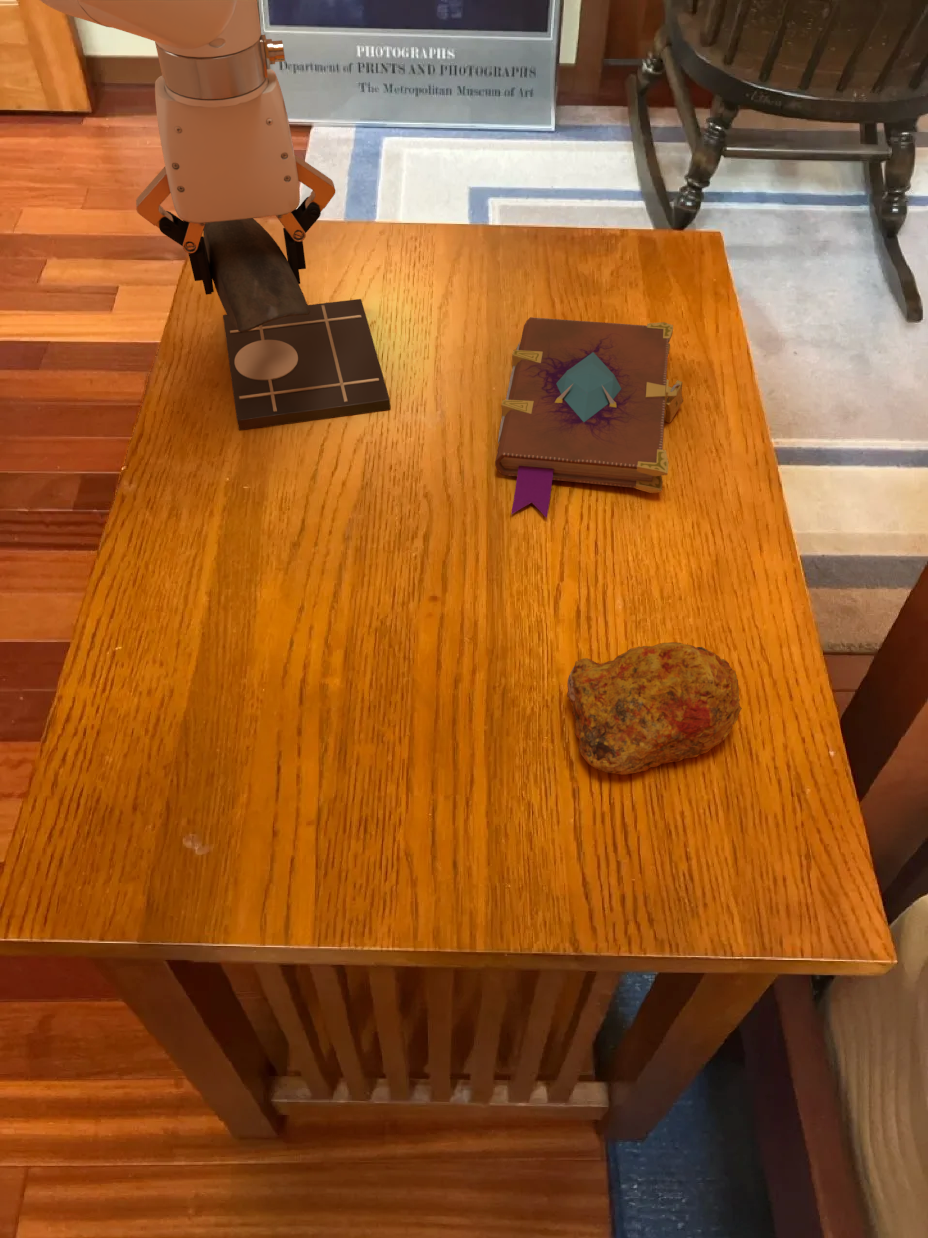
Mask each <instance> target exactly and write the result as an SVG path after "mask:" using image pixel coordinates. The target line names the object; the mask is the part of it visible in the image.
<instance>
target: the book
mask: <svg viewBox="0 0 928 1238" xmlns="http://www.w3.org/2000/svg"><path fill="white" fill-rule="evenodd" d="M673 332H674V325H673V324H671V323H667V322H665V321H663V322H647V324H646V325H643V324H632V323H631V324H628V323H617V322H616V323H615V322H604V321H603V322H602V321H590V320H589V321H587V320H574V319H559V318H558V319H557V318H548V317H547V318H546V317H545V318H544V317H532V316H531V317H529V318H528V319H527V320H526V321H525V322H524V324H523V327H522V333H521V338H520V341H519V342H518V344H517V347H516V349H512V354H511V373H510V378H509V382H508V387H507V391H506V395H505V396H506V397H505V399H502V401H501V405H500V406H501V408H500V409H501V410H500V411H501V412H500V413H501V420H500V424H499V428H498V429H499V430H498V440H497V444H498V447H497V451H496V456H495V464H494V466H495V468H496V469H497V471H498V472H499V473H500V474H501V475H502V476H508V477H509V476H510V477H516V482H515V488H514V496H513V502H512V507H511V513H510V515H513V514H516V513H517V512H518V511H520V510H522V509H524V508H525V507H528V506H529V505H530V504H532V506H534V507H535V508H536V509H537V510H538V511H539V512H540V513H541V514H542V515H543V516H544V517H545V518H546V519H548V514H549V507H550V500H551V493H552V486H553V481H561V482H562V481H563V482H573V483H581V484H582V483H584V484H593V485H601V486H602V485H604V486H614V487H625V488H633V489H636V490H640V491H642V492H647V493H650V494H656V493H662V492H663V483H664V482H663V481H664V480H663V476H668V474H669V458H668V453H667V450H666V449H663V447H664V429H665V428H664V427H665V422H666V423H669V424H671V422H672V421H673V419H674V418H675V416H676V415H677V412H678V411H679V409H680V408H681V406H682V404H683V402H684V398H683V381H681V380H678V379H677V380H676V381H675V383H674V384H673V385H672V386H669V383H670V380H669V379H667V374H668V357H669V355H670V349H671V343H670V341H671V339H672V336H673Z"/></svg>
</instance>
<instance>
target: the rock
mask: <svg viewBox="0 0 928 1238" xmlns="http://www.w3.org/2000/svg"><path fill="white" fill-rule="evenodd" d="M736 672H737V671H736V670H734V669H733V667H732V666H731V665H730V663H729V662H728V661H727V660H726V659H725V658H721V656H720V655H718V654H716V653H715V652H713V651H712V650H709V649H707V648H705V647H703V646H697V647H695V645H692V644H686V643H681V642H673V641H671V642H661V643H658V644H655V645H652V646H651V645H649V646H647V645H643V646H636V647H633V648H629V649H628V650H627V651H625V652H623V653H621V654H619V655H617V656H616V657H615V658H614V659H613V660H608V661H605V662H602V663H599V662H596V661H594V660H592V659H590V658H588V657H587V658H586V657H585V658H581V659H579V660H577V661H575V663H574V665H573V667H572V669H571V671H570V673H569V675H568V678H567V692H566V697H567V698H568V700H569V702H570V704H571V706H572V714H573V716H574V717H575V733H574V734H575V736H576V738H578V739H579V747H578V752H579V754H580V755H581V756H582V757H583V759H584V760H585V762H586V763H587V764H588V765H589V766H591V767H592V768H594V769H596V770H598V771H602V772H604V773H609V774H615V775H617V774H618V775H631V774H636V773H641V772H646V771H648V770H650V768H657V767H658V766H660V765H662V764H669V763H673V762H680V761H682V760H684V759H692V758H697V757H698V756H699V755H702V754H706V753H708V752H709V751H710V750H712V749H713V748H714V747H716V746H717V745H720V744H721V743H722V742H724V741H725V739H726V738H727V737H728V735H729V734H730V733H731V731H732V729H733V726H734V725H736V723H737V721H738V719H739V715H740V712H741V711H742V707H741V705H740V701H741V698H740V688H739V679H738V678H737V676H738V675H737V673H736Z"/></svg>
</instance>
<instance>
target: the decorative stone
mask: <svg viewBox="0 0 928 1238" xmlns="http://www.w3.org/2000/svg"><path fill="white" fill-rule="evenodd" d="M202 235H203V237H204V241H205V246H206V251H207V255H208V260H209V265H210V270H211V275H212V282H213V286H214V288H215V291H216V293H217V296H218V299H219V300H220V303H221V306H222V307H223V309H224V312H225V315H227V316H228V317H229V320H230V321H231V323H232V324H233V325H234V327H235V328H236V329H237V330H238V331H240V332H247V331H249V330H251V329H254V328H256V327H258V326H261V325H263V324H265V323H268V322H270V321H273V320H276V319H279V318H283V317H287V316H295V315H308V314H309V313H310V310H309V307H308V305H309V304H308V303H307V300H306V297H305V295H304V293H303V291H302V289H301V286H300V284H298V282H297V279H296V277H295V275H294V273H293V271H292V269H291V267H290V265H289V263H288V259H287V256H286V255H285V254H284V252H283V250H282V249H281V247H280V246H279V244H278V242H276V240H275V239H274V238H273V237H272V235H271V234H270V233H269V232H268V231H267V230H266V229H265V228H264V227H263V226H262V225H261V224H260V223H259V222H258V221H257V220H256V219H255V218H251V219H241V220H231V221H221V222H210V223H206V224H205V227H204V230H203V233H202Z"/></svg>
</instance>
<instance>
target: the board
mask: <svg viewBox="0 0 928 1238" xmlns="http://www.w3.org/2000/svg"><path fill="white" fill-rule="evenodd" d="M307 305H308V307H309V310H310V313H309V314H308V315H295V316H287V317H283V318H279V319H276V320H273V321H270V322H268V323H265V324H263V325H261V326H258V327H256V328H254V329H251V330H249V331H247V332H240V331H238V330H237V329H236V328H235V327H234V325H233V324H232V323H231V321H230V320H229V317H228V316H227V314H222V320H223V327H224V334H225V341H226V348H227V357H228V364H229V371H230V378H231V379H230V380H231V385H232V394H233V402H234V408H235V415H236V416H235V417H236V423H237V427H238V430H239V431H244V430H252V429H258V428H267V427H274V426H281V425H289V424H295V423H302V422H309V421H317V420H323V419H331V418H340V417H345V416H347V417H348V416H353V415H360V414H362V415H363V414H367V413H368V414H369V413H375V412H382V411H389V410H390V411H391V400H390V396H389V392H388V389H387V385H386V381H385V378H384V374H383V372H382V367H381V365H380V364H381V363H380V361H379V357H378V354H377V349H376V346H375V343H374V339H373V336H372V331H371V328H370V326H369V322H368V319H367V318H368V317H367V315H366V310H365V308H364V303H363V301H362V299H361V298H357V299H348V300H339V301H330V302H322V303H314V304H313V303H312V304H307Z"/></svg>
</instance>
